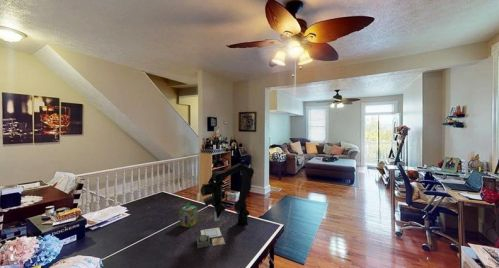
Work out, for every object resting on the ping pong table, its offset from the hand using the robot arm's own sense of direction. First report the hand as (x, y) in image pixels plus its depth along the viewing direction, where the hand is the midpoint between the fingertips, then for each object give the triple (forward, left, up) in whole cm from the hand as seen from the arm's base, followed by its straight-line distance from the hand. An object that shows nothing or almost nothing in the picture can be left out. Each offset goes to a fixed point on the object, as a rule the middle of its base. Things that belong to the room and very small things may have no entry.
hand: (217, 216), depth 128 cm
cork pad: (+1, +10, -11) cm, 15 cm away
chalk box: (+17, -18, -11) cm, 27 cm away
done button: (+10, +9, -9) cm, 16 cm away
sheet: (+4, 0, -11) cm, 11 cm away
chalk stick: (0, 0, -2) cm, 2 cm away
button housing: (+10, +9, -11) cm, 17 cm away
